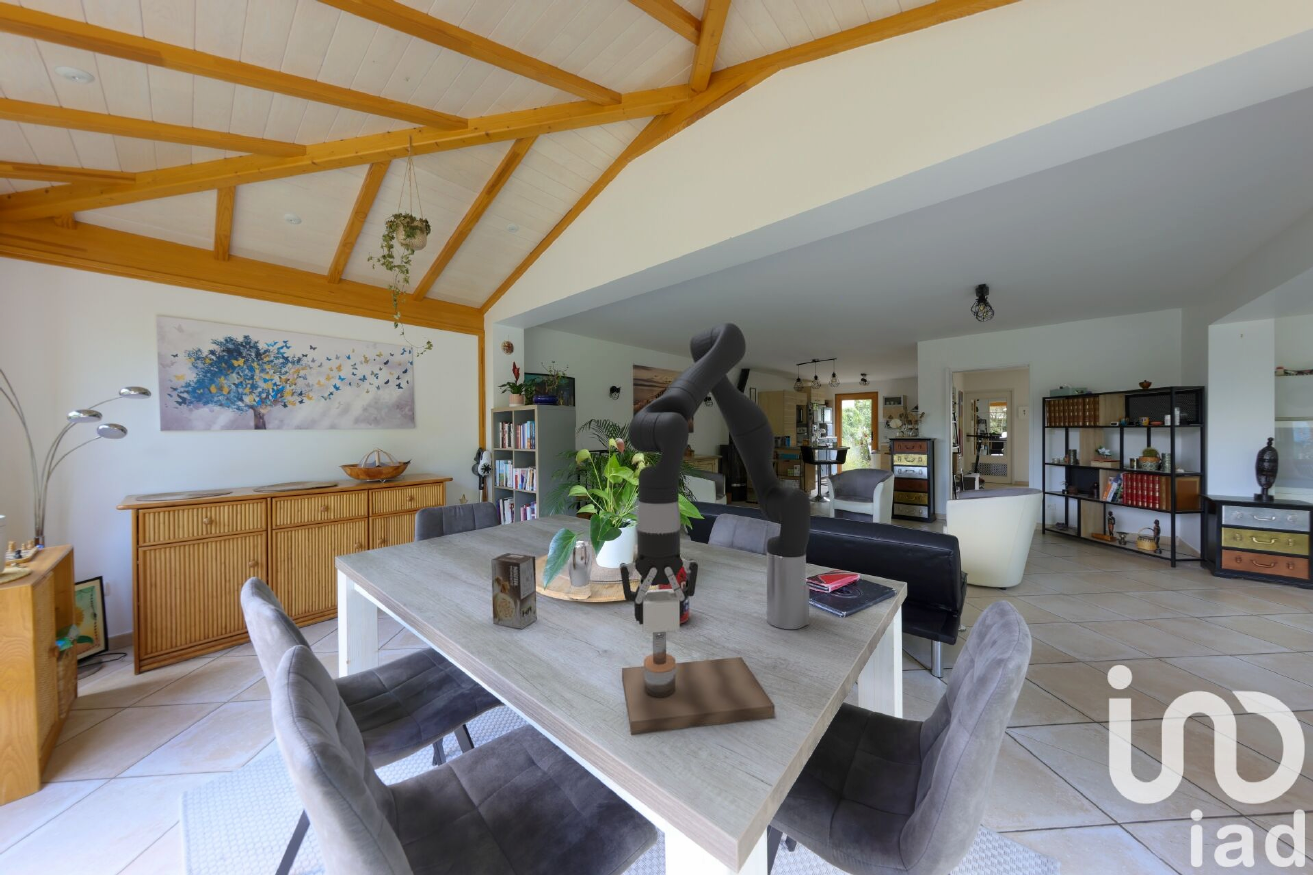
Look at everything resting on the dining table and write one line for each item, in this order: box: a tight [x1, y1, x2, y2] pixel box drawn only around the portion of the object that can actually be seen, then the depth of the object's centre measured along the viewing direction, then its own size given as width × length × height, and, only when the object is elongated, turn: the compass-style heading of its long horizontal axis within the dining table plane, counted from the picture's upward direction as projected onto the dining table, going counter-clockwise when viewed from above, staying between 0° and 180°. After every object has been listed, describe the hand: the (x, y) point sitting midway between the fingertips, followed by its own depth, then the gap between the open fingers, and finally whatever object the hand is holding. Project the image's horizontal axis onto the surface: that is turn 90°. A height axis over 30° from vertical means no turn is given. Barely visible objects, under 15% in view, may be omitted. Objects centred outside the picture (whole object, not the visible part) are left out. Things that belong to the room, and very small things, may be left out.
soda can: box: [657, 557, 690, 625], centre depth 114 cm, size 8×8×15 cm
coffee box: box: [490, 552, 538, 630], centre depth 113 cm, size 9×6×16 cm
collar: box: [641, 589, 680, 634], centre depth 81 cm, size 6×6×5 cm
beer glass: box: [567, 540, 593, 587], centre depth 130 cm, size 7×7×15 cm
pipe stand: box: [621, 631, 776, 735], centre depth 82 cm, size 24×16×12 cm, turn 99°
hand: (659, 620), depth 81 cm, fingers closed on collar, 6 cm apart
